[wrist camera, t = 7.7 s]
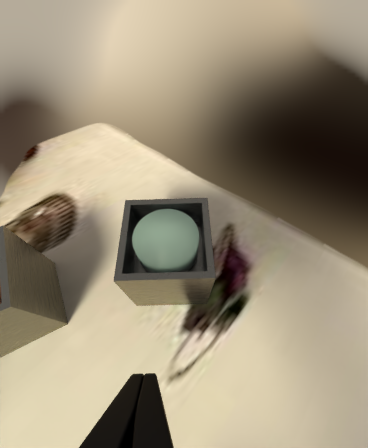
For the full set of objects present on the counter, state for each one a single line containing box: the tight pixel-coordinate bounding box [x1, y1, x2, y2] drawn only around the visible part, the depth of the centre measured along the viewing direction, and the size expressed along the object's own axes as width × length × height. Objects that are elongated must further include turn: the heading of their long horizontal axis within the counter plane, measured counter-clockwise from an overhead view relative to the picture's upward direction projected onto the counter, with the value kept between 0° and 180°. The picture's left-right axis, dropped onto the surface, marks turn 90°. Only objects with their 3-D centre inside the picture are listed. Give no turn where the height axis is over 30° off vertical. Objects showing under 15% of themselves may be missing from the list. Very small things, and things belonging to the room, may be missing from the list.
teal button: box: [132, 209, 199, 273], centre depth 18 cm, size 5×5×2 cm
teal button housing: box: [114, 198, 215, 306], centre depth 20 cm, size 7×7×8 cm
